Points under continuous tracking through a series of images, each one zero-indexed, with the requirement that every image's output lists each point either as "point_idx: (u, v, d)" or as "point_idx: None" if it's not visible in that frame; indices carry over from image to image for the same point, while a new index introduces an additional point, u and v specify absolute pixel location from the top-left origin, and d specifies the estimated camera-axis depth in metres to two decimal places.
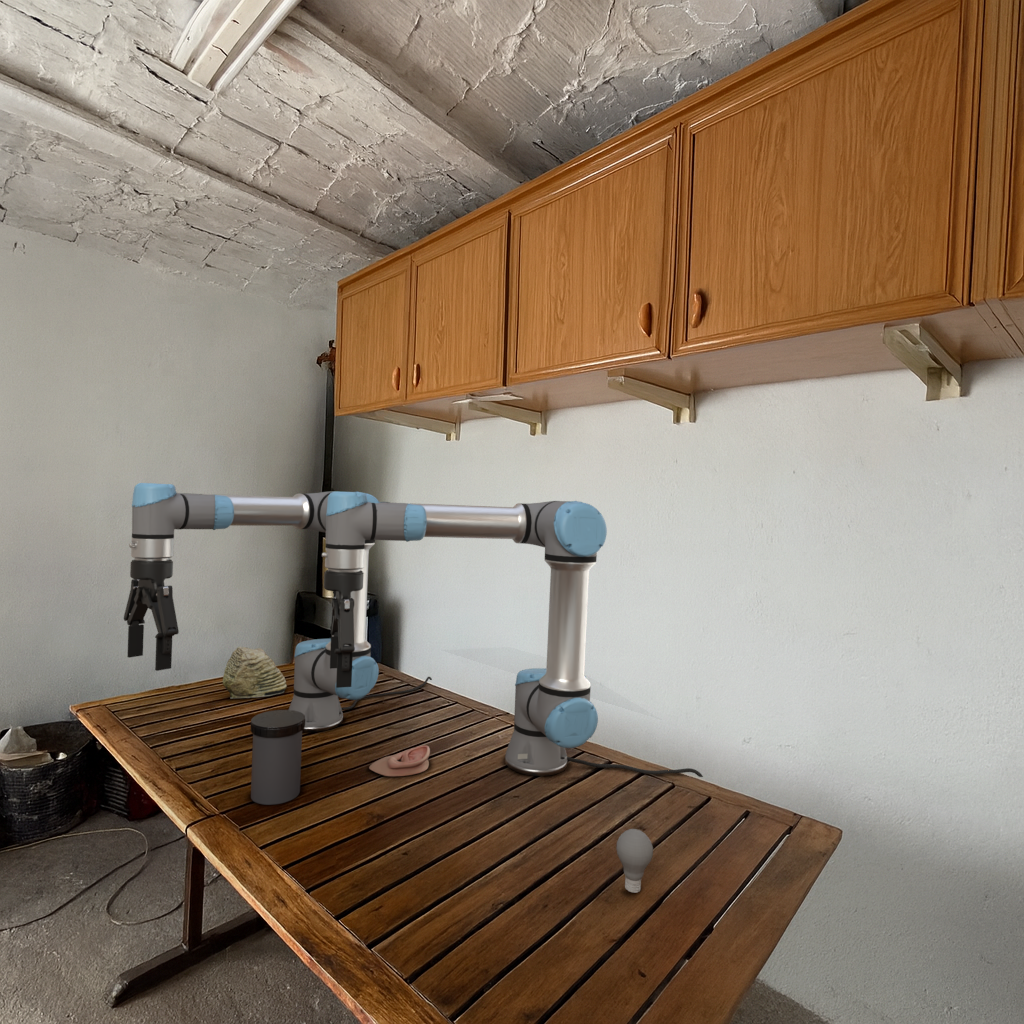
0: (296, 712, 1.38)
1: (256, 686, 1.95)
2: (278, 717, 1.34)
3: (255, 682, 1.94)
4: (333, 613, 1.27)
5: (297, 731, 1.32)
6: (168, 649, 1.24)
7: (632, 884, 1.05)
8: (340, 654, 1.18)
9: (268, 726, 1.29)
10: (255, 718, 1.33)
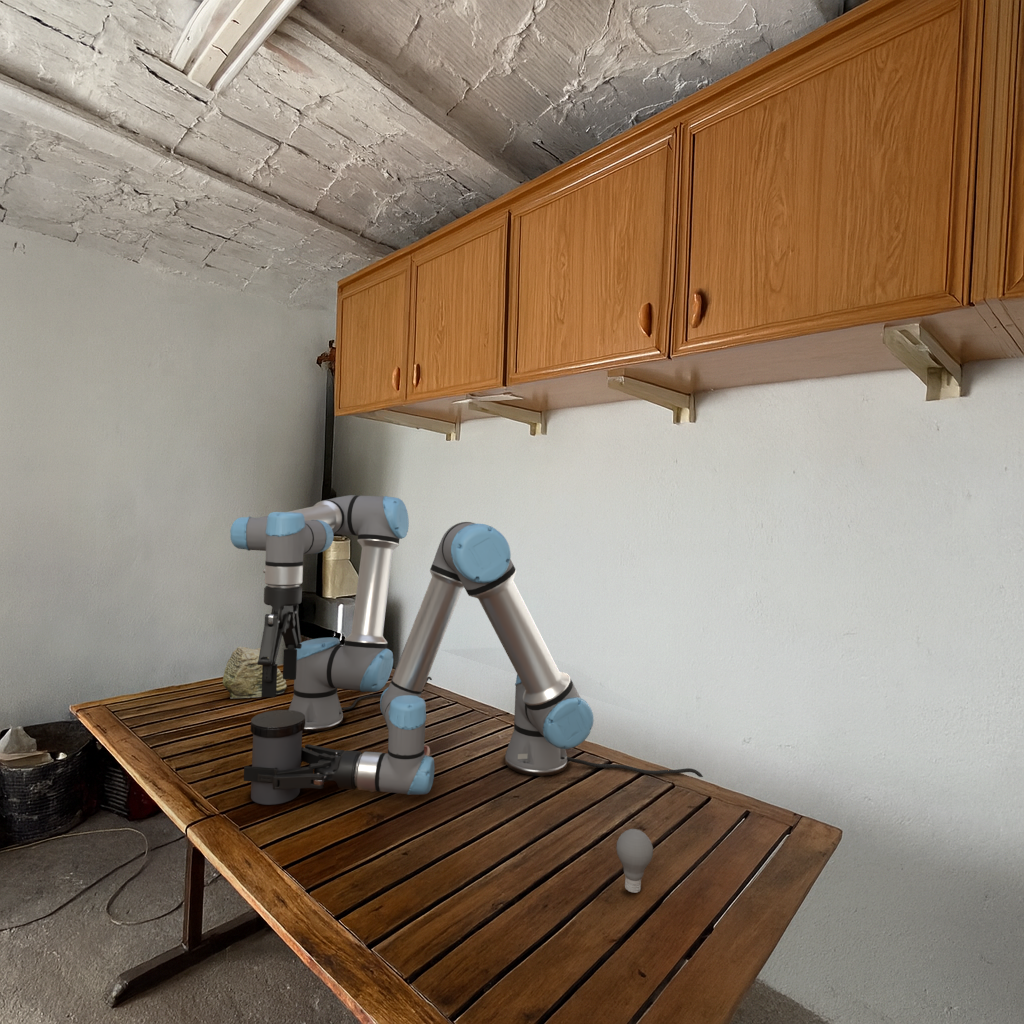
0: (296, 712, 1.38)
1: (256, 686, 1.95)
2: (278, 717, 1.34)
3: (255, 682, 1.94)
4: None
5: (297, 731, 1.32)
6: (268, 678, 1.26)
7: (632, 884, 1.05)
8: None
9: (268, 726, 1.29)
10: (255, 718, 1.33)
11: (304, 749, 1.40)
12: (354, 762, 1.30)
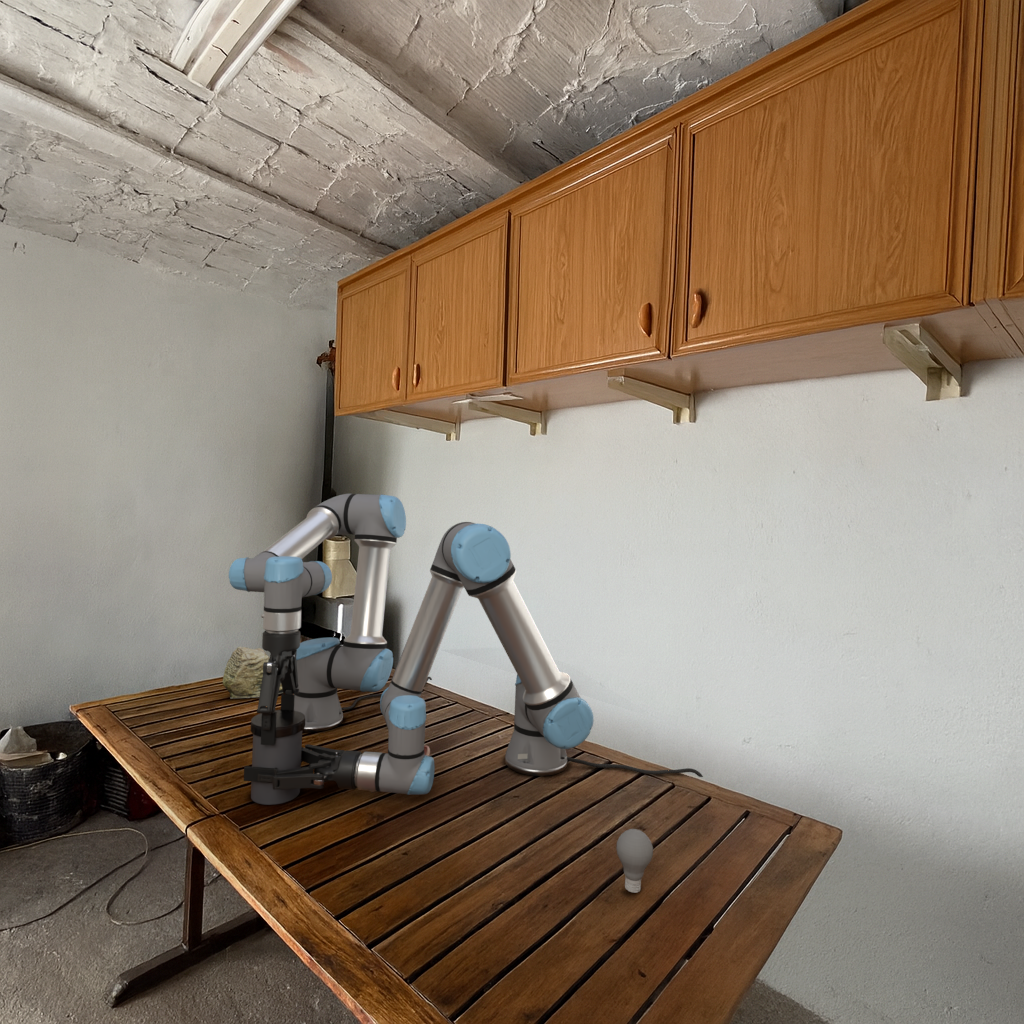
0: (296, 712, 1.38)
1: (256, 686, 1.95)
2: (278, 717, 1.34)
3: (255, 682, 1.94)
4: None
5: (297, 731, 1.32)
6: (267, 726, 1.27)
7: (632, 884, 1.05)
8: None
9: None
10: (255, 718, 1.33)
11: (304, 749, 1.40)
12: (354, 762, 1.30)
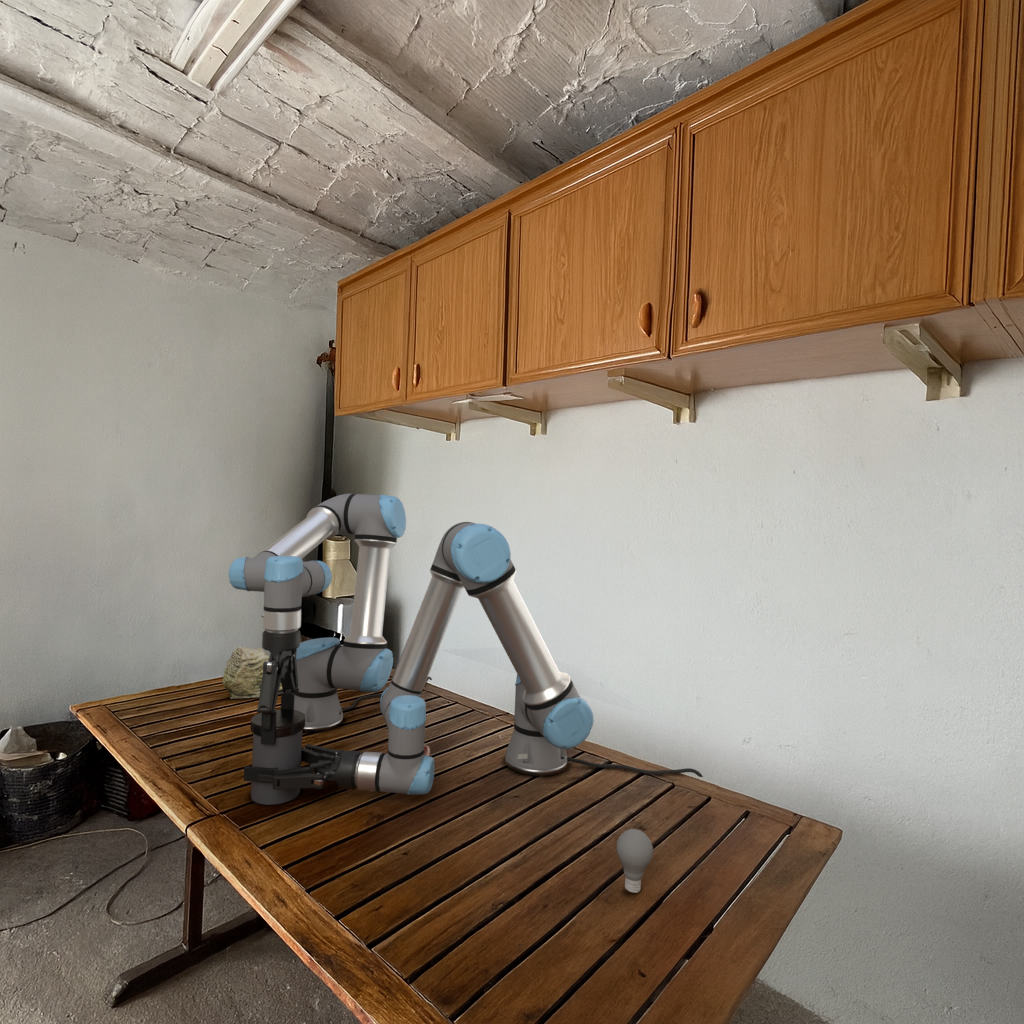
0: None
1: (256, 686, 1.95)
2: (276, 717, 1.34)
3: (255, 682, 1.94)
4: None
5: None
6: (267, 725, 1.27)
7: (632, 884, 1.05)
8: None
9: (301, 718, 1.34)
10: None
11: (304, 749, 1.40)
12: (354, 762, 1.30)
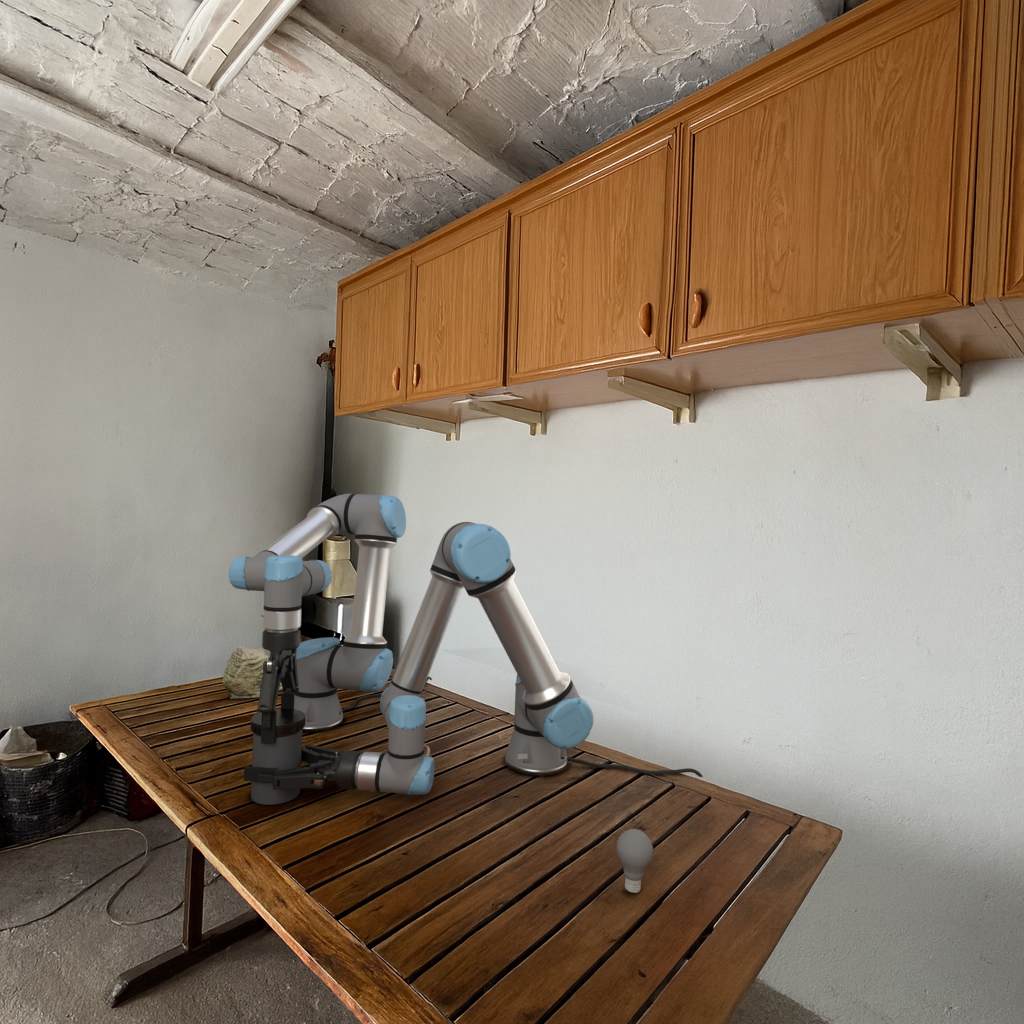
0: (260, 723, 1.30)
1: (256, 686, 1.95)
2: (278, 717, 1.33)
3: (255, 682, 1.94)
4: None
5: None
6: (267, 725, 1.27)
7: (632, 884, 1.05)
8: None
9: (285, 709, 1.39)
10: (301, 716, 1.35)
11: (304, 749, 1.40)
12: (354, 762, 1.30)
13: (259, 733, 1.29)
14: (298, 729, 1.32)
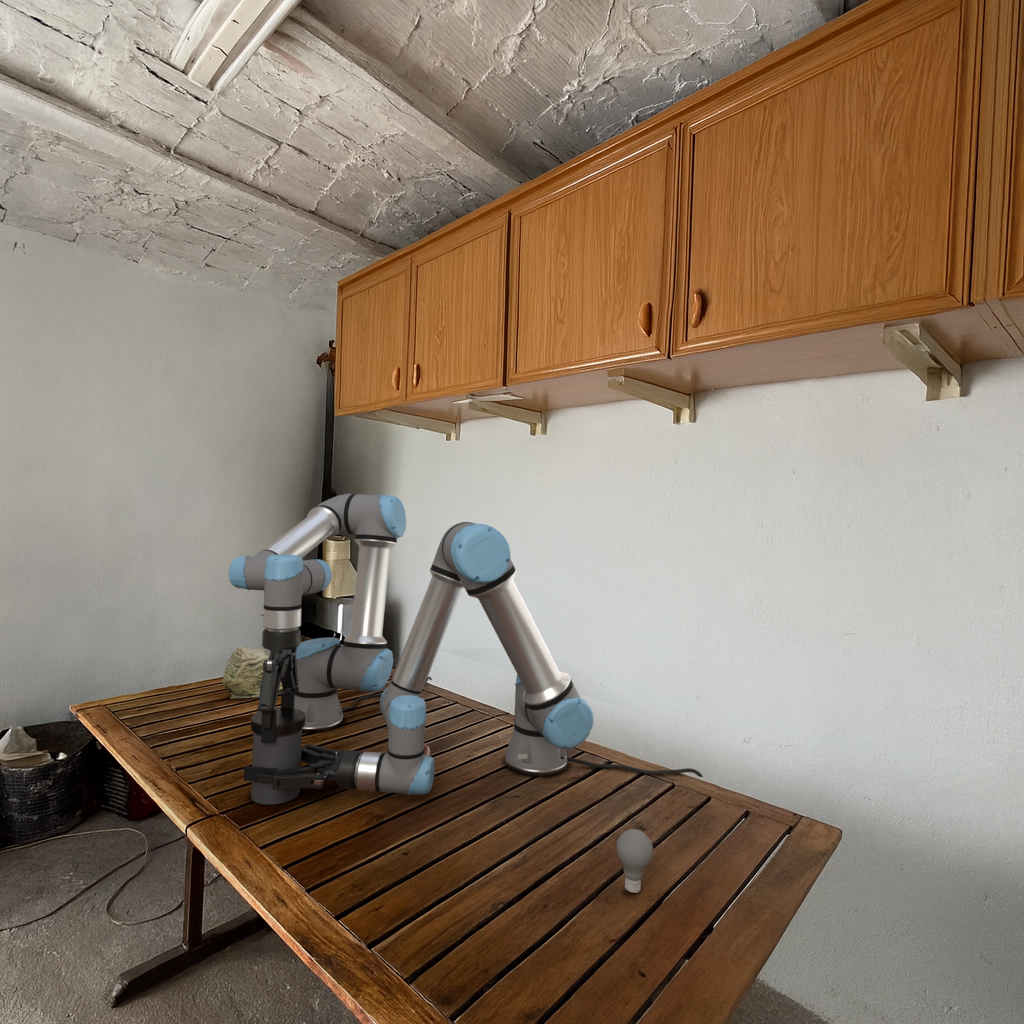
0: (295, 720, 1.32)
1: (256, 686, 1.95)
2: (281, 715, 1.34)
3: (255, 682, 1.94)
4: None
5: None
6: (267, 724, 1.27)
7: (632, 884, 1.05)
8: None
9: (255, 715, 1.34)
10: (280, 709, 1.38)
11: (304, 749, 1.40)
12: (354, 762, 1.30)
13: (299, 728, 1.32)
14: None
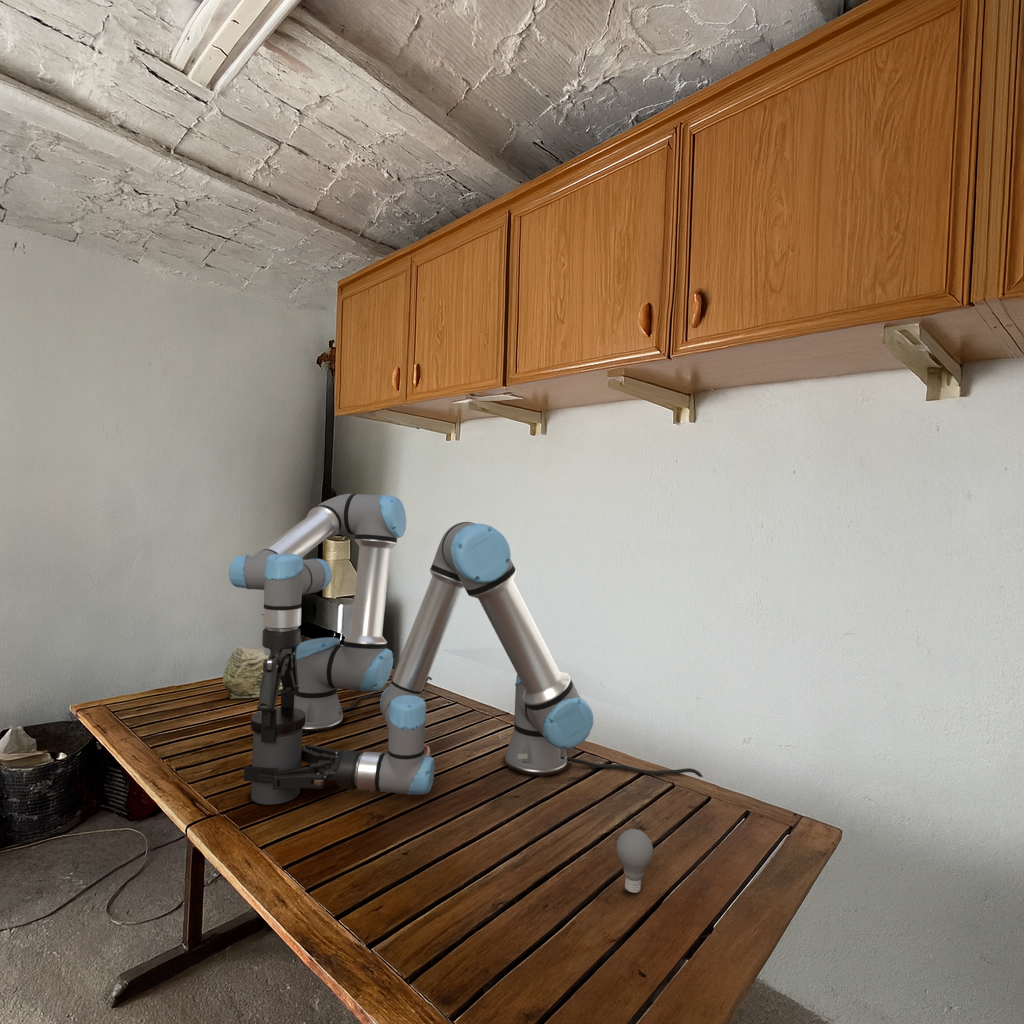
0: (293, 709, 1.38)
1: (256, 686, 1.95)
2: (278, 714, 1.34)
3: (255, 682, 1.94)
4: None
5: (300, 727, 1.33)
6: (267, 723, 1.27)
7: (632, 884, 1.05)
8: None
9: None
10: (255, 717, 1.32)
11: (304, 749, 1.40)
12: (354, 762, 1.30)
13: None
14: None
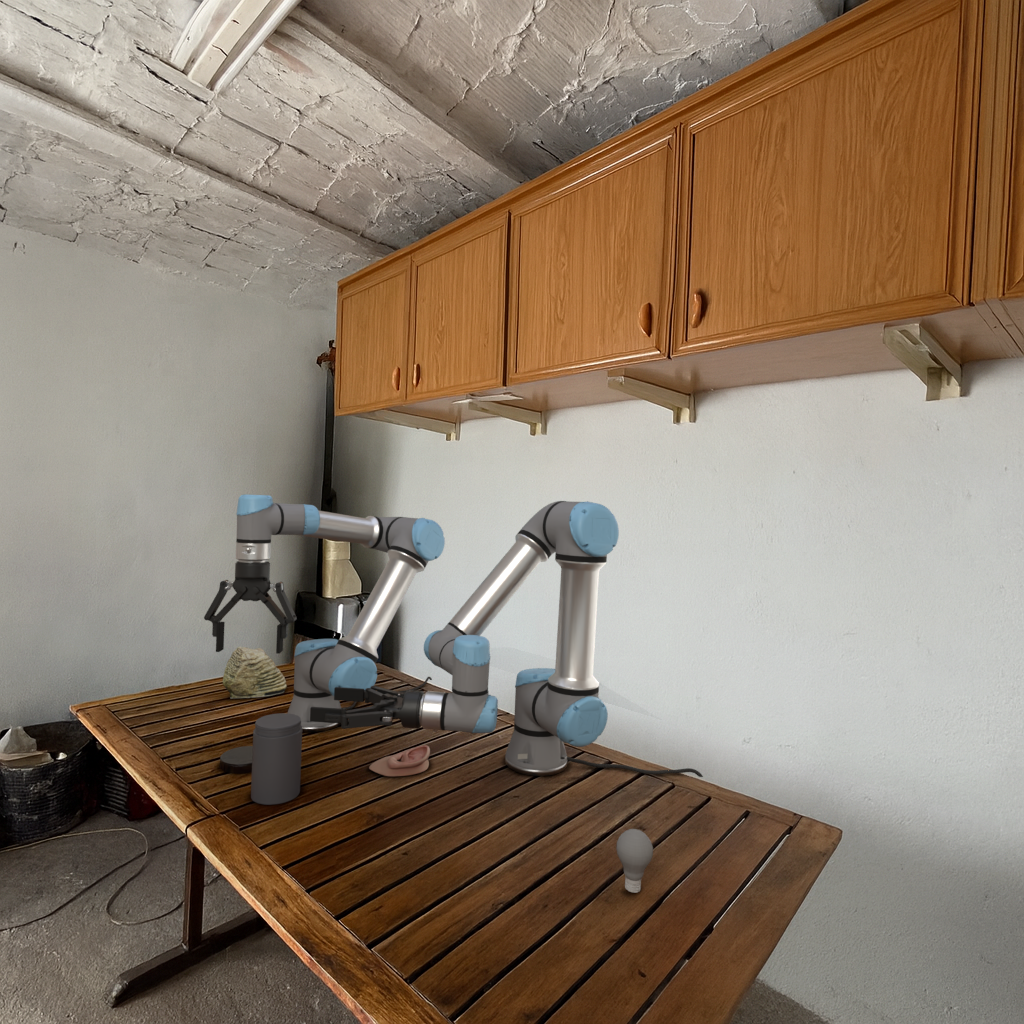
0: (229, 751, 1.50)
1: (256, 686, 1.95)
2: (243, 755, 1.48)
3: (255, 682, 1.94)
4: None
5: None
6: (286, 634, 1.49)
7: (632, 884, 1.05)
8: None
9: None
10: (244, 762, 1.44)
11: (370, 689, 1.40)
12: (418, 700, 1.29)
13: None
14: (229, 771, 1.43)
